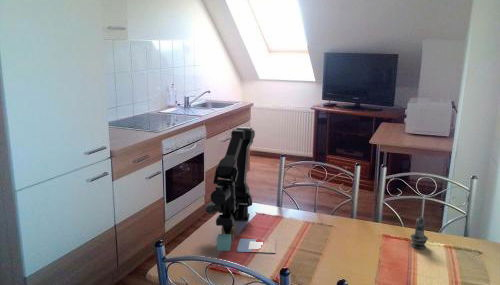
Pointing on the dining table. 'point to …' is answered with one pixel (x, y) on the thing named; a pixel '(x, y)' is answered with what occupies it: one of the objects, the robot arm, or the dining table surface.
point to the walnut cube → (230, 231)
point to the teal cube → (224, 242)
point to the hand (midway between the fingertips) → (228, 232)
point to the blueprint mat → (248, 245)
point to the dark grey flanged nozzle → (419, 235)
